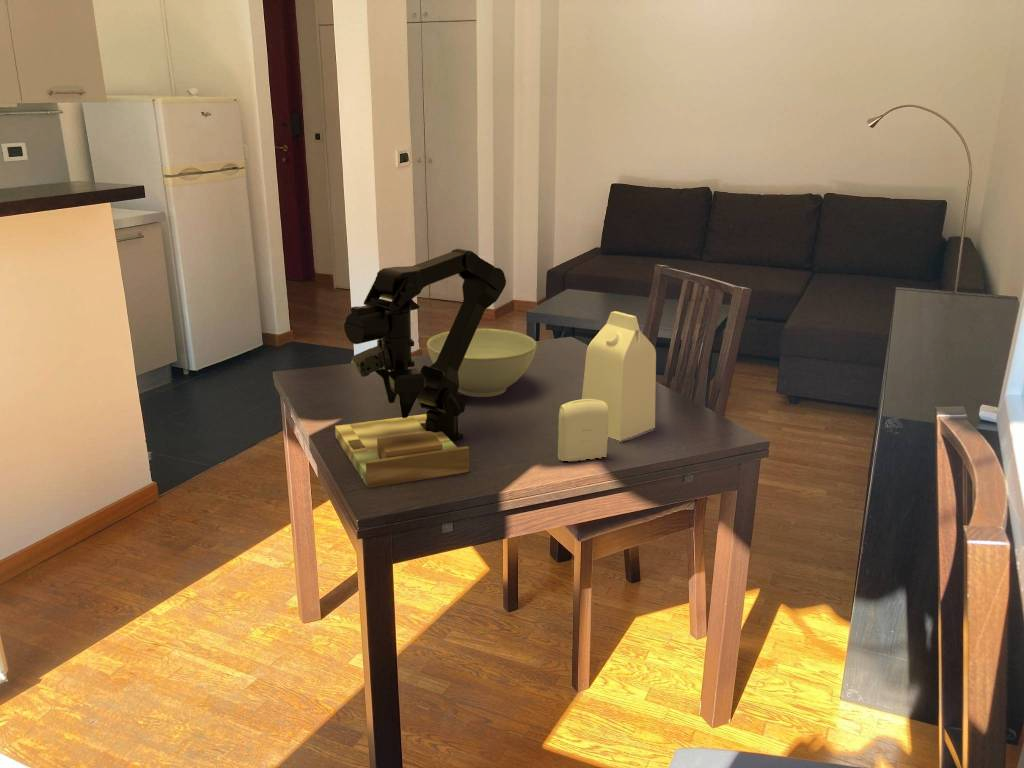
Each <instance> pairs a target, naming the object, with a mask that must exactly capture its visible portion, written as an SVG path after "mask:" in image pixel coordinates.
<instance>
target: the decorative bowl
mask: <svg viewBox="0 0 1024 768" xmlns="http://www.w3.org/2000/svg"><path fill="white" fill-rule="evenodd" d="M449 332H450V330H449V331H444V332H441V333H437V334H436V335H432V336H431V337H430V338H429V339H428V340H427V342H426V348H427V352H428V354H429V358H430V359H431V362H432V364H434V363H435V362H436V360H437V358H438V356H439V354H440V352H441V350H442V347H443V345H444V343H445V341H446V338H447V336H448V334H449ZM537 345H538V344H537V341H536V340H535V339H534V338H533V337H531V336H529V335H527V334H524V333H521V332H517V331H513V330H507V329H498V328H477V329H476V331H475V334H474V336H473V338H472V340H471V343H470V345H469V347H468V349H467V352H466V354H465V356H464V358H463V361H462V363H461V365H460V367H459V370H458V378H459V388H458V391H457V393H459V394H462V395H465V396H468V397H474V398H489V397H490V398H491V397H495V396H499V395H502V394H504V393H506V391H507V388H508V387H511V385H513V384H514V383H516V382H517V381H518V380H519V379H520V378H521V377H522V376H523V375H524V374H525V373H526V371H527V370H528V368H529V367H530V365H531V364H532V361H533V358H534V356H535V354H536V350H537Z"/></svg>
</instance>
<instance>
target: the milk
mask: <svg viewBox="0 0 1024 768" xmlns="http://www.w3.org/2000/svg"><path fill="white" fill-rule="evenodd" d="M584 362H585V365H584V376H583V384H582V392H581V393H582V394H581V399H595V400H600V401H604V402H605V403H606V404H607V406H608V412H609V416H608V437H610V438H613V439H616V440H619V441H621V440H623V439H626V438H628V437H632V436H634V435H637V434H639V433H642V432H644V431H647V430H649V429H652V428H655V429H656V388H657V387H656V381H657V380H656V379H657V376H656V375H657V373H656V372H657V350H656V348H655V346H654V345H653V343H652V342H651V341H650V340H649V339H648V338H647V336H645V334H643V332H642V331H641V330H640V326H639V323H638V318H637V316H636V315H633V314H628V313H626V312H621V311H616V310H614V311H611V312H610V313H609V316H608V319H607V321H606V323H605V325H604V326H603V327H602V328H601V329H600V330H599V332H598V333H597V334H596V335H595V336H594V337H593V339H592V340H591V341H590V343H589V344H588V346H587V349H586V353H585V361H584Z"/></svg>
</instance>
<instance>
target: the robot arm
mask: <svg viewBox="0 0 1024 768" xmlns="http://www.w3.org/2000/svg"><path fill="white" fill-rule="evenodd" d="M456 275H458V276H459V277H460V278H461V279H462V280H463V283H462V286H461V287H462V297H463V299H462V303H461V305H460V307H459V310H458V312H457V314H456V316H455V318H454V321H453V323H452V325H451V328H450V330H449V331H450V332H449V334H448V336H447V338H446V341H445V343H444V345H443V347H442V350H441V352H440V354H439V356H438V358H437V360H436V362H435V363H434V364H433V363H432V364H431V365H429V366H428V365H425V364H424V365H423V366H422V367H421V369H420V370H418V368H413V367H415V361H414V360H413V359H412V347H415V341H414V340H413V338H412V327H411V326H412V325H411V320H412V319H411V318H412V317H411V316H412V315H411V313H412V312H411V311H414V310H419V309H420V305H419V304H418V303H416V302H415V300H413V299H414V298H416V297H417V296H418V295H420V294H421V293H422V291H423V289H425V288H426V287H427V286H429V285H432V284H435V283H437V282H440V281H442V280H445V279H448V278H450V277H453V276H456ZM506 284H507V278H506V275H505V273H504V271H503V270H502V269H501V268H500V267H496V266H494V265H493V264H491V263H490V262H488V261H486V260H485V259H483V258H481V257H479V255H478V254H476V253H475V252H474V251H472V250H468V249H463V248H455V249H452V250H451V251H449V252H447V253H445V254H442V255H439V256H436V257H434V258H430V259H428V260H426V261H422V262H419V263H417V264H415V265H408V266H392V267H385V268H381V269H380V270H378V272H377V273H376V276H375V279H374V281H373V283H372V284H371V287H370V289H369V290H368V293H367V295H366V297H365V300H363V305H362V306H361V305H360V306H351V307H350V314H348V315H347V317H346V319H345V322H343V329H344V332H345V336H346V338H347V339H348V341H349V342H351V343H352V344H353V345H360V344H363V343H368V342H372V341H376V340H377V343H376V346H373V347H370V348H368V349H365V350H363V351H361V352H358V353H356V354H354V355H353V356H351V360H352V363H353V365H354V367H355V369H356V372H357V373H358V374H359V376H360V377H362V378H364V377H368V376H370V374H372V373H374V372H375V373H376V374H378V375H379V376H380V378H381V380H382V385H383V387H384V391H385V394H386V398H387V401H388V403H389V404H394V403H395V402H396V401H395V400H396V398H397V400H398V405H399V407H398V408H399V411H400V416H401V417H402V418H407V417H408V416H410V412H411V411H412V409H413V407H414V405H415V403H416V400H417V401H418V403H419V406H420V408H421V409H425V410H427V411H426V415H427V419H426V431H430V432H433V433H436V432H443V433H444V434H445V435H446V436H447V437H448V438H449V439H450V440H451V441H452V442H453V441H456V440H459V439H462V438H463V437H464V434H463V433H460V432H459V416H460V415H461V414H463V413H464V412H465V409H466V405H467V402H466V401H465V400H464V399H463V398H462V396H460V395H459V394H458V388H459V378H458V370H459V367H460V365H461V363H462V361H463V358H464V356H465V354H466V352H467V349H468V347H469V345H470V343H471V340H472V338H473V336H474V334H475V331H476V329H478V326H479V324H480V322H481V320H482V319H483V315H484V314H485V311H486V310H488V308H489V307H491V305H493V304H494V303H496V302H497V301H498V300H499V297H501V294H502V293H503V291H504V289H505V288H506ZM387 299H388V300H387Z"/></svg>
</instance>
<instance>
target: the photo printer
mask: <svg viewBox="0 0 1024 768" xmlns="http://www.w3.org/2000/svg"><path fill="white" fill-rule="evenodd" d="M608 416H609V412H608V406H607V404H606V403H605V402H604V401H600V400H595V399H582V398H581V399H577V400H576V399H575V400H572V401H571V400H570V401H567V402H566V403H563V404H561V405H560V406H559V410H558V429H557V430H558V433H557V434H558V435H557V439H558V440H557V459H558V460H559V461H560V460H561V461H560V462H562V461H568V462H578V461H579V460H580V461H587V460H586V459H590V460H596V459H595V458H599V459H602V458H601V457H605V458H607V454H608V441H609V439H608Z"/></svg>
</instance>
